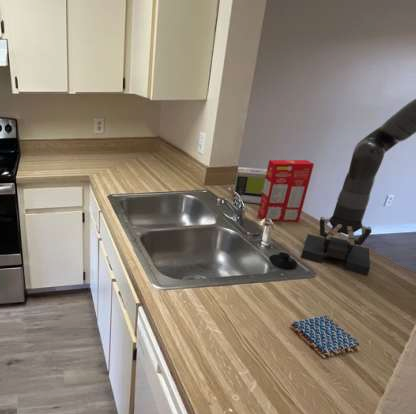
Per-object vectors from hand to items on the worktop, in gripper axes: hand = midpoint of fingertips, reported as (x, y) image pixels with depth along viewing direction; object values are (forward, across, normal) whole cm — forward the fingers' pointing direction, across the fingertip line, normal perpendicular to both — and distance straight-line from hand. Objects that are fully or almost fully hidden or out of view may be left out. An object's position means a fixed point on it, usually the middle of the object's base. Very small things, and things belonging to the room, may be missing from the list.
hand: (336, 250), depth 110 cm
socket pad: (+4, 0, +2) cm, 4 cm away
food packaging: (+4, -21, +24) cm, 32 cm away
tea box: (+4, -36, +40) cm, 54 cm away
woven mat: (+4, 0, -43) cm, 43 cm away
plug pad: (0, 0, 0) cm, 0 cm away
